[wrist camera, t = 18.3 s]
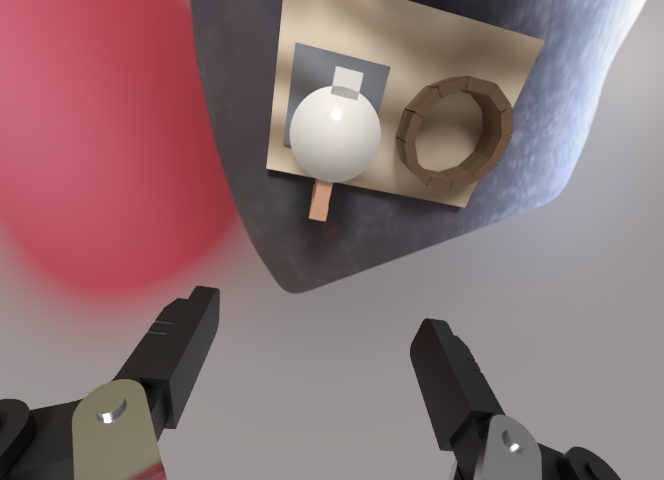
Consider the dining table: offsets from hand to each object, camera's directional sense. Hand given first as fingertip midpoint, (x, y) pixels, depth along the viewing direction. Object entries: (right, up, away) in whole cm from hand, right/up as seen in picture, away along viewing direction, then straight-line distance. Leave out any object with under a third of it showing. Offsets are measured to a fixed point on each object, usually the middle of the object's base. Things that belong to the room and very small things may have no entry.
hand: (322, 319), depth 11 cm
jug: (0, +14, +18) cm, 23 cm away
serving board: (+7, +17, +18) cm, 26 cm away
